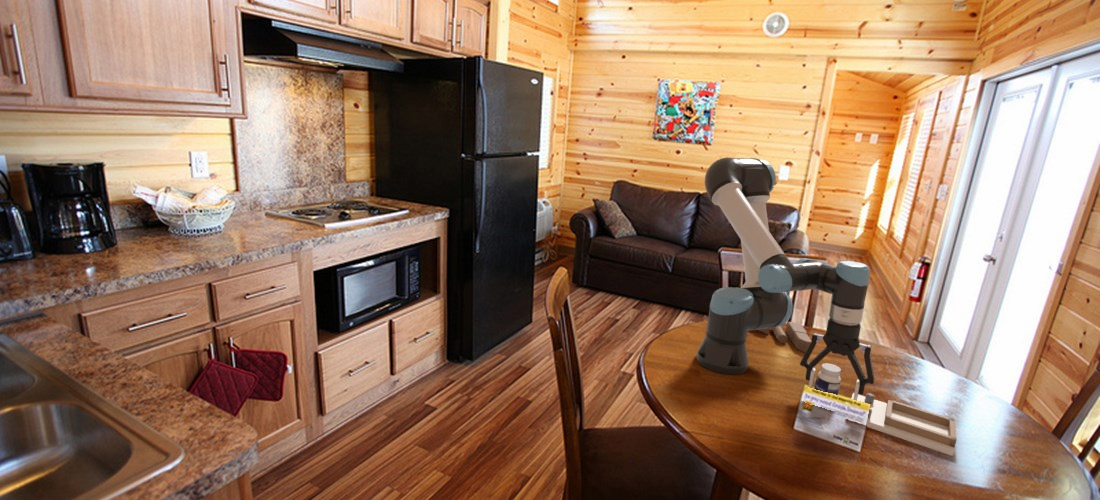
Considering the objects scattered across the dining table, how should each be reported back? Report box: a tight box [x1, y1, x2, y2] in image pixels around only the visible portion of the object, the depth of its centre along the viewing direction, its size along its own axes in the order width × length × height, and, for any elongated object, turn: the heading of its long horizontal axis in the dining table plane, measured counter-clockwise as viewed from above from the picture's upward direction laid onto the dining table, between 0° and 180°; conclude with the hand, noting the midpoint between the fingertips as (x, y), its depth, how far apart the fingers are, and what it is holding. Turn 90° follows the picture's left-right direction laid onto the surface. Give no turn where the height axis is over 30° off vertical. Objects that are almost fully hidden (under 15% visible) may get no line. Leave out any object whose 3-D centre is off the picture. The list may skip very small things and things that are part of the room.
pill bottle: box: [813, 362, 842, 396], centre depth 136 cm, size 6×6×10 cm
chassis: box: [850, 392, 958, 457], centre depth 128 cm, size 22×14×4 cm, turn 54°
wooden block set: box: [758, 321, 812, 354], centre depth 176 cm, size 17×6×18 cm
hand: (831, 397), depth 136 cm, fingers open, 10 cm apart
